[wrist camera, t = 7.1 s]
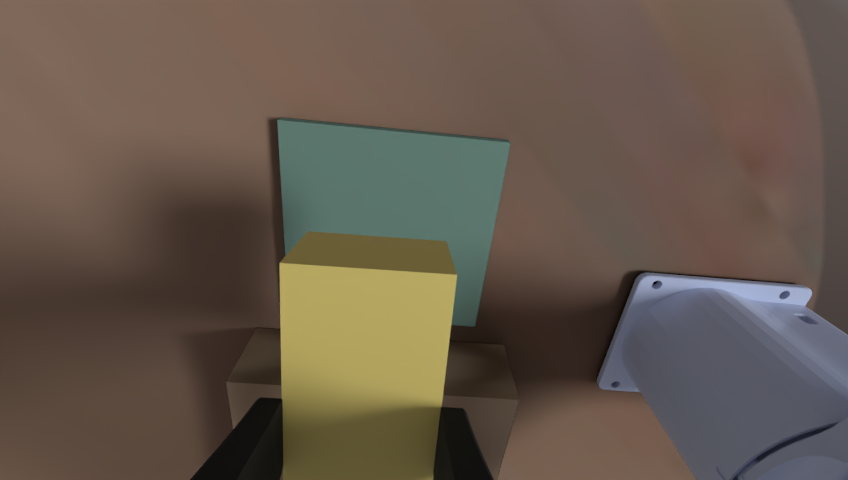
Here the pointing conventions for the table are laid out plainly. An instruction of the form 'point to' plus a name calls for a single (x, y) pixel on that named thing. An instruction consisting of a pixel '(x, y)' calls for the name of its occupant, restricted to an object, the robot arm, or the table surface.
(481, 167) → the mat
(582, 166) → the table surface
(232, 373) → the pocket board
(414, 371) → the slab
